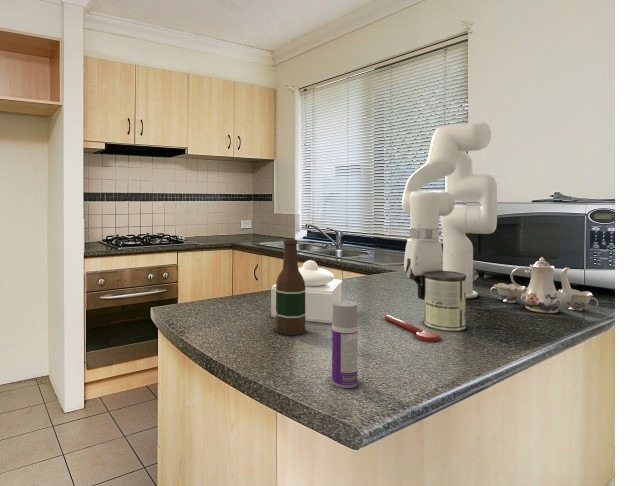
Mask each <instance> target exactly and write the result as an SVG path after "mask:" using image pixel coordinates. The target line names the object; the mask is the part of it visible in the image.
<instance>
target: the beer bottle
mask: <svg viewBox="0 0 640 486" xmlns="http://www.w3.org/2000/svg"><path fill="white" fill-rule="evenodd" d="M282 243H283V244H284V245H283V247H284V248H283V261H282V263H283V264H282V269H281V271H280V272H279V274H278V276H277V279H276V281H275V282H276V283H275V284H276V317H275V327H276V331H277V333H278V334H281V335H284V336H299V335H301V334H304V333H305V332H306V321H305V282H304V279H303V277H302V275H301V273H300V272H299V269H298V268H299V264H298V263H299V262H298V261H299V260H298V247H297V245H298V240H297V239H296V238H285V239H283V242H282Z"/></svg>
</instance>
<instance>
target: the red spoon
mask: <svg viewBox="0 0 640 486" xmlns="http://www.w3.org/2000/svg"><path fill="white" fill-rule="evenodd" d="M384 319H385V320H386V321H388V322H391V323H392V324H395V325H397V326H399V327H401V328H404V329H405V330H408V331H410V332H412V333H414V334H415V337H416V339H418V340H421V341H423V342H437V341H439V334H437V333H436V332H432V331H427V330H423V329H421V328H419V327H416V326H414V325H412V324H410V323H408V322H405V321H403V320H400V319H398V318H396V317H394V316H392V315H389V314H385V315H384Z"/></svg>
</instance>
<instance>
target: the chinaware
mask: <svg viewBox="0 0 640 486" xmlns="http://www.w3.org/2000/svg"><path fill="white" fill-rule="evenodd" d="M555 267H556V266H554V265H550V263H549V262H547V261H546V259H545V258H544V257H543V256H541V257H540V258H539V260H537V261H536V262H535V263H534V264H529V267H525V266H521V267H516V268H514V269H513V270H512V271H511V273H510V281H511V283H509V284H508V283H505V282H504V283H503V282H498V283H497V284H494V285H493V286H492V287H491V288H490V289H489V294H490V295H491V296H492V297H495V298H496V297H498V299H499V300H502V299H503V302H504V303H509V304H514V303H516V300H518V299H519V298H520V301H521V302H522V303H523V305H524V306H525V307H524V308H525V309H526V310H528V311H530V312H534V313H540V314H557V313H559V309H560V308H561V307H563V306H566V305H567V306H568V309H569V310H572V311H584V310H588V308H590V309H595V308H597V307H598V305H599V301H598V299H597V298H595V297H593V296H594V294H593V293H592V292H590V291H588V290H585V291H580V290H578V289H574V288H572V287H571V283H570V280H569V278H568V275H567V273H568V271H569V270H571V267H567V266H566V267H564V268H563V269H562V270H561V272H560V282H561V288H559V289H558V290H557V289H556V286H555V283H554V270H555ZM520 270H524V273H525V274H530V281H529V284H528V285H527V287H526V286H524V285H523V286H522V285H520V284H518V283H516V282H515V280H514V274H515V272H517V271H520ZM492 289H494V290H496V291H497V294H498V295H495V294H492V292H491V291H492ZM590 300H591V301H592V300H595V302H596V305H594V306H590V305H589V303H590ZM583 309H584V310H583Z"/></svg>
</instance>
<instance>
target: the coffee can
mask: <svg viewBox="0 0 640 486" xmlns="http://www.w3.org/2000/svg"><path fill="white" fill-rule="evenodd" d="M424 275H425V300H424V322H423V323H424V325H425V326H426V327H428V328H432V329H434V330H441V331H447V332H448V331H450V332H456V331H457V332H459V331H464V330H465V329H466V327H467V326H466V298H465V297H466V275H465V274H463V273H459V272H452V271H430V272H425V273H424Z"/></svg>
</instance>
